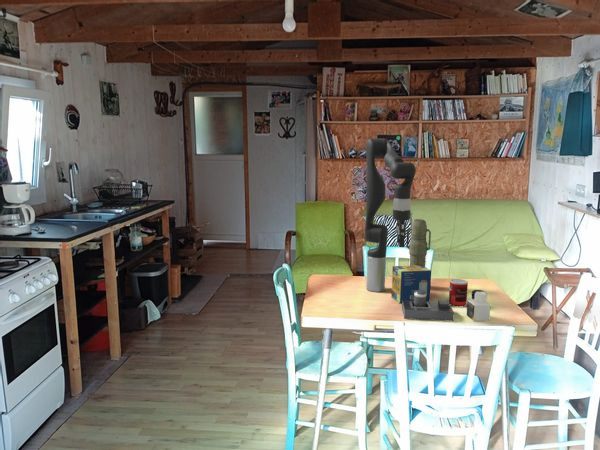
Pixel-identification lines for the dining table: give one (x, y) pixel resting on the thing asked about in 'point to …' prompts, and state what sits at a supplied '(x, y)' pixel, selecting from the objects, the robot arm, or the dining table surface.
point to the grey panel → (428, 310)
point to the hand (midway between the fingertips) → (400, 244)
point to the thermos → (418, 242)
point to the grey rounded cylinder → (419, 298)
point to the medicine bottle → (478, 306)
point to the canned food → (458, 292)
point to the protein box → (410, 282)
